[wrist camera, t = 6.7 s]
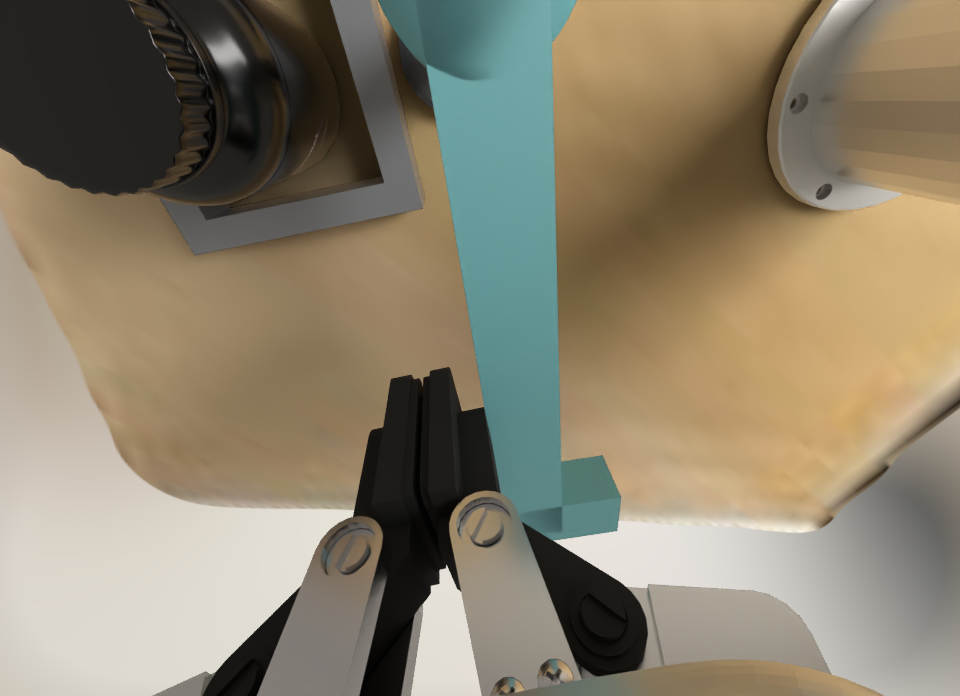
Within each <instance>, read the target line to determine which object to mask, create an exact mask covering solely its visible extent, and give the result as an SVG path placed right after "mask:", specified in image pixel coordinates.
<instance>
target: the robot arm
mask: <svg viewBox="0 0 960 696" xmlns="http://www.w3.org/2000/svg"><path fill="white" fill-rule="evenodd" d="M767 144H768V154H769V161H770V164H771V166H772V169H773V172H774V175H775V177H776V179H777V180H778V182H779V183H780V185H781V186H782V187H783V189H784V190H785V191H786V192H787V193H788V194H790V195H791V196H792V197H794V198H795V199H796V200H798V201H800V202H803V203H805V204H808V205H811V206H814V207H818V208H822V209H826V210H830V211H853V210H858V209H863V208H868V207H873V206H875V205H878V204H881V203H884V202H886V201H889V200H892V199H894V198H896V197H898V196H900V195H902V194H908V195H913V196H917V197H922V198H927V199H932V200H937V201H942V202H947V203H951V204H956V205H960V0H822V2H821V3H820V4H819V6H818V7H817V9H816V10H815V12H814V13H813V14H812V16H811V17H810V19H809V20H808V21H807V23H806V24H805V26H804V28H803V29H802V31H801V33H800V35H799V37H798V39H797V40H796V42H795V44H794V46H793V48H792V49H791V51H790V53H789V55H788V57H787V59H786V62H785V64H784V67H783V69H782V72H781V74H780V77H779V79H778V82H777V85H776V88H775V92H774V96H773V100H772V104H771V108H770V112H769V119H768V131H767ZM446 564H447V566H448V568H449V571H450V573H451V575H452V578H453V580H454V582H455V584H456V587H457V589H458V590H460V591H461V592H462V598H463V602H464V608H465V613H466V617H467V623H468V628H469V633H470V638H471V643H472V648H473V653H474V658H475V663H476V668H477V673H478V678H479V683H480V688H481V693H482V696H884V695H882V694H880V693H878V692H876V691H874V690H871V689H869V688H866V687H864V686H861V685H859V684H856V683H854V682H851V681H849V680H847V679H844V678H841V677H837V676H834V675H831V673H830V670H829V668H828V666H827V664H826V662H825V660H824V658H823V656H822V654H821V652H820V650H819V648H818V646H817V644H816V642H815V639H814V637H813V635H812V633H811V632H810V630H809V629H808V628H807V626H806V624H805V623H804V622H803V620H802V618H801V617H800V616H799V615H798V614H797V613H795V612H794V611H793V610H792V609H791V608H790V607H789V606H788V605H787V604H785V603H784V602H782V601H780V600H778V599H777V598H774V597H773V596H771V595H769V594H765V593H761V592H757V591H750V590H749V591H748V590H734V589H718V588H700V587H685V586H668V585H652V584H648V588H632V587H625V586H624V585H623V584H622V583H621V582H619V581H617V580H616V579H614V578H613V577H611V576H609V575H608V574H606V573H605V572H603V571H601V570H599V569H598V568H596V567H595V566H593V565H592V564H590V563H588V562H587V561H585V560H583V559H582V558H580V557H579V556H577V555H575V554H574V553H572V552H570V551H569V550H567V549H566V548H564V547H562V546H561V545H559V544H557V543H556V542H554V541H553V540H551V539H549V538H548V537H546V536H544V535H543V534H541V533H540V532H538V531H536V530H535V529H533V528H531V527H530V526H528V525H527V524H525V523H523V522H522V521H521V519H520V517H519V514H518V511H517V509H516V507H515V506H514V504H513V502H512V501H511V500H510V499H508V498H507V497H506V496H505V495H503V494H501V491H500V485H499V479H498V474H497V468H496V462H495V456H494V451H493V446H492V440H491V435H490V431H489V426H488V422H487V418H486V413H485V409H484V407H482V408H478V409H473V410H468V411H463V412H462V410H461V406H460V403H459V399H458V395H457V392H456V388H455V384H454V381H453V377H452V373H451V370H450V368H449V367H447V368H442V369H437V370H432V371H430V376H428V377H424V379H423V386H422V383H421V380H420V379H419V378H418V379H413V377H412V375H407V376H402V377H398V378H393V379H391V382H390V388H389V394H388V401H387V407H386V413H385V420H384V426H383V428H378V429H374V430H372V431H371V432H370V435H369V438H368V443H367V449H366V454H365V459H364V464H363V469H362V474H361V479H360V484H359V489H358V494H357V499H356V505H355V510H354V515H353V517H351V518H348V519H346V520H344V521H342V522H340V523H338V524H337V525H335V526H334V527H333V528H332V529H330V530H329V531H328V532H327V534H326V535H325V536H324V537H323V538H322V540H321V541H320V543H319V545H318V547H317V548H316V550H315V553H314V555H313V558H312V560H311V563H310V566H309V568H308V570H307V573H306V575H305V578H304V580H303V583H302V585H301V587H300V588H298V589H297V590H296V592H294V593H293V594H292V595H291V596H290V597H289V598H288V599H287V600H286V601H285V602H284V603H283V604H282V605H281V606H280V607H279V608H278V609H277V610H276V611H275V612H274V613H273V615H271V616H270V617H269V618H268V619H267V620H266V621H265V622H264V623H263V624H262V625H261V626H260V627H259V628H258V629H257V630H256V631H255V632H254V633H253V634H252V635H251V636H250V637H249V638H248V639H247V640H246V641H245V642H244V643H243V644H242V645H241V646H240V647H239V648H238V649H237V650H236V651H235V652H234V653H233V654H232V655H231V656H230V657H229V658H228V659H227V660H226V661H225V662H224V663H223V665H222V666H221V667H220V668H219V669H218V670H217V672H215V673H213V674H209V673H208V672H203V673H201V674H199V675H197V676H195V677H193V678H190V679H188V680H186V681H184V682H182V683H179V684H177V685H175V686H173V687H171V688H168V689H166V690H164V691H162V692H160V693H157V694H155V695H153V696H411V689H412V683H413V677H414V670H415V663H416V657H417V649H418V643H419V637H420V629H421V623H422V616H423V606H422V604H423V603H424V602H425V600H426V599H427V598H428V596H429V595H430V593H431V585H436V584H439V570H440V569H445V568H446Z"/></svg>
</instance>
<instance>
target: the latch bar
mask: <svg viewBox="0 0 960 696" xmlns="http://www.w3.org/2000/svg"><path fill="white" fill-rule="evenodd" d="M378 1H379V4H380V6H381V8H382V10H383V12H384V14H385V16H386V17H387V19H388V21H389V22H390V24H391V26H392V27H393V29H394V30H395V32H396V33H397V35H398V36H399V37H400V39H401V40H402V41H403V43H404V44H405V46H406V47H407V48H408V49H409V51H410V52H411V53H412V55H413V56H414V57H415V58H416V59H417V60H418V61H419V62H420V63H421V64H422V65H423V66H425V67H426V68H427V72H428V78H429V84H430V89H431V95H432V101H433V107H434V113H435V119H436V125H437V131H438V137H439V142H440V148H441V154H442V160H443V166H444V172H445V178H446V184H447V189H448V195H449V201H450V207H451V213H452V219H453V225H454V231H455V236H456V242H457V248H458V254H459V260H460V266H461V272H462V278H463V283H464V289H465V295H466V301H467V307H468V313H469V319H470V325H471V331H472V336H473V342H474V348H475V354H476V360H477V366H478V372H479V378H480V383H481V389H482V395H483V401H484V407H485V413H486V418H487V422H488V426H489V431H490V435H491V440H492V446H493V451H494V456H495V462H496V468H497V474H498V479H499V485H500V491H501V494H503V495H505V496H506V497H507V498H508V499H510V500H511V501H512V502H513V504H514V506H515V507H516V509H517V511H518V514H519V517H520V519H521V521H522V522H523V523H525V524H527V525H528V526H530V527H531V528H533V529H535V530H536V531H538V532H540V533H541V534H543V535H544V536H546V537H548V538H549V539H551V540H560V539H566V538H573V537H580V536H587V535H593V534H600V533H606V532H613V531H617V528H618V520H619V512H620V503H621V496H620V494H619V491H618V489H617V487H616V485H615V482H614V480H613V478H612V476H611V473H610V471H609V469H608V467H607V464H606V462H605V460H604V458H603V455H602V456H596V457H589V458H582V459H576V460H569V461H563V462H561V439H560V393H559V348H558V302H557V257H556V211H555V166H554V120H553V75H552V42H553V41H554V39H555V38H556V37H557V35H558V34H559V33H560V31H561V30H562V28H563V26H564V25H565V23H566V21H567V19H568V18H569V16H570V14H571V12H572V9H573V7H574V5H575V3H576V1H577V0H378Z"/></svg>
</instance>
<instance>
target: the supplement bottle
mask: <svg viewBox="0 0 960 696" xmlns="http://www.w3.org/2000/svg"><path fill="white" fill-rule="evenodd" d="M339 120H340V101H339V94H338V88H337V85H336V81H335V78H334V75H333V72H332V70H331V67H330V65H329V63H328V61H327V59H326V57H325V55H324V54H323V52H322V50H321V49H320V47H319V46H318V44H317V43H316V42H315V40H314V39H313V38H312V37H311V35H310V34H309V33H308V32H307V31H306V30H305V29H304V28H303V27H302V26H301V25H300V24H299V23H298V22H297V21H296V20H294V19H293V18H292V17H291V16H289V15H288V14H287V13H285V12H284V11H282V10H281V9H279V8H278V7H277V6H275V5H273V4H272V3H270V2H269V1H267V0H0V148H1V149H3V150H5V151H7V152H9V153H11V154H13V155H14V156H15V157H16V158H17V159H18V160H19V161H20V162H21V163H22V164H23V165H25V166H28V167H30V168H33V169H36V170H37V171H39V172H40V173H41V174H42V175H44V176H45V177H46V178H48V179H52V180H57V181H60V182H62V183H64V184H65V185H67V186H68V187H70V188H76V189H80V188H82V189H84V190H86V191H88V192H90V193H93V194H102V193H106V194H110V195H113V196H122V195H126V194H141V193H148V194H150V195H153V196H155V197H158V198H161V199H164V200H167V201H171V202H175V203H180V204H185V205H192V206H217V205H224V204H228V203H232V202H235V201H239V200H242V199H244V198H247V197H249V196H251V195H253V194H256V193H258V192H260V191H262V190H264V189H266V188H268V187H270V186H272V185H275V184H277V183H279V182H281V181H283V180H285V179H287V178H289V177H292V176H294V175H296V174H298V173H300V172H302V171H304V170H306V169H308V168H309V167H311V166H313V165H314V164H316V163H317V162H318V161H319V160H320V159H322V158H323V157H324V155H325V154H326V153H327V152H328V150H329V149H330V147H331V146H332V144H333V142H334V139H335V137H336V134H337V130H338V126H339Z"/></svg>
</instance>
